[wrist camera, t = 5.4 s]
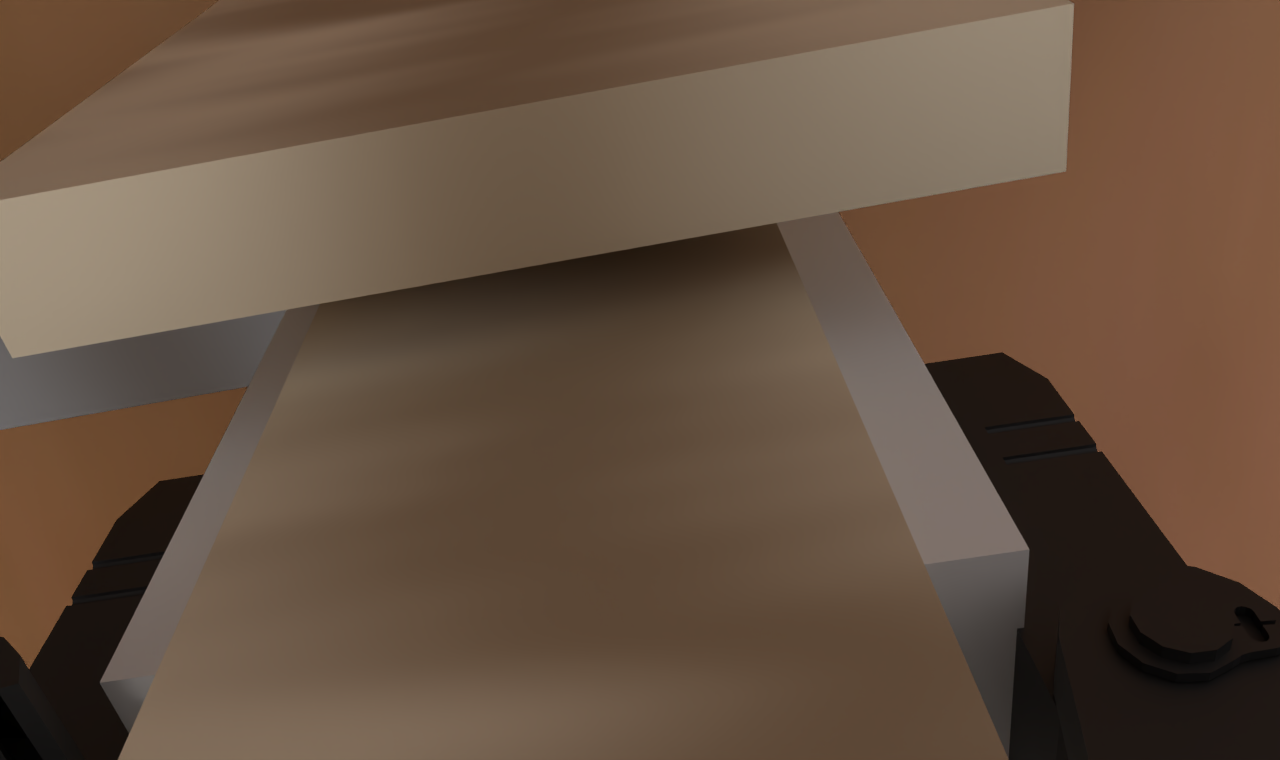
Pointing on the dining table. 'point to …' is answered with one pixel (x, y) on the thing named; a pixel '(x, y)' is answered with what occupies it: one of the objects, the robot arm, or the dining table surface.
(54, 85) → the dining table surface
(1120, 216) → the dining table surface
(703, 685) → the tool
